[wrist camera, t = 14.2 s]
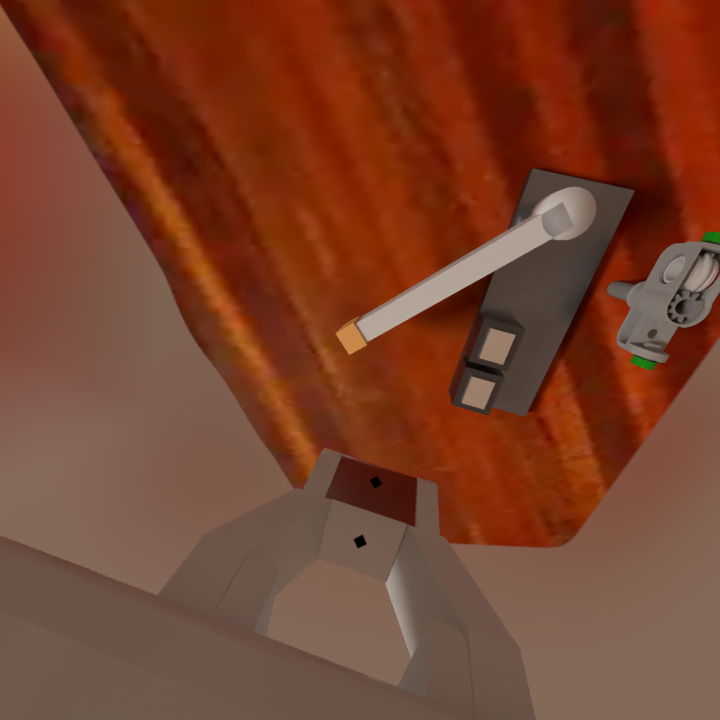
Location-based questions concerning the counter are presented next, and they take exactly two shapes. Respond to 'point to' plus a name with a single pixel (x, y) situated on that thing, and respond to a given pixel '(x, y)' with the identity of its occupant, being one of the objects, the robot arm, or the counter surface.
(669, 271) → the mechanical component
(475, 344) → the block
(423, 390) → the counter surface
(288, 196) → the counter surface
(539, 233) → the lever
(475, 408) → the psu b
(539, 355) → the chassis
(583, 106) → the counter surface
